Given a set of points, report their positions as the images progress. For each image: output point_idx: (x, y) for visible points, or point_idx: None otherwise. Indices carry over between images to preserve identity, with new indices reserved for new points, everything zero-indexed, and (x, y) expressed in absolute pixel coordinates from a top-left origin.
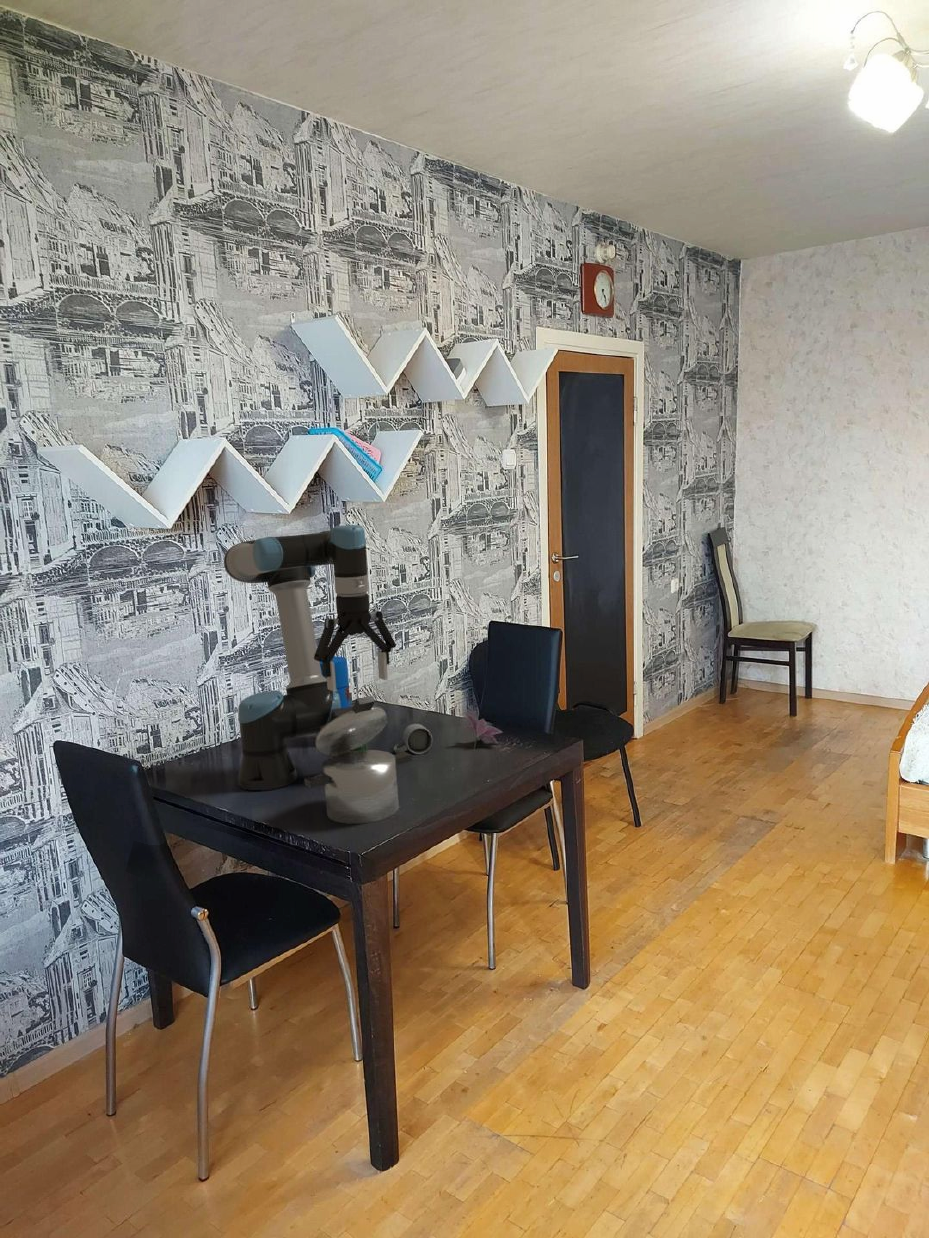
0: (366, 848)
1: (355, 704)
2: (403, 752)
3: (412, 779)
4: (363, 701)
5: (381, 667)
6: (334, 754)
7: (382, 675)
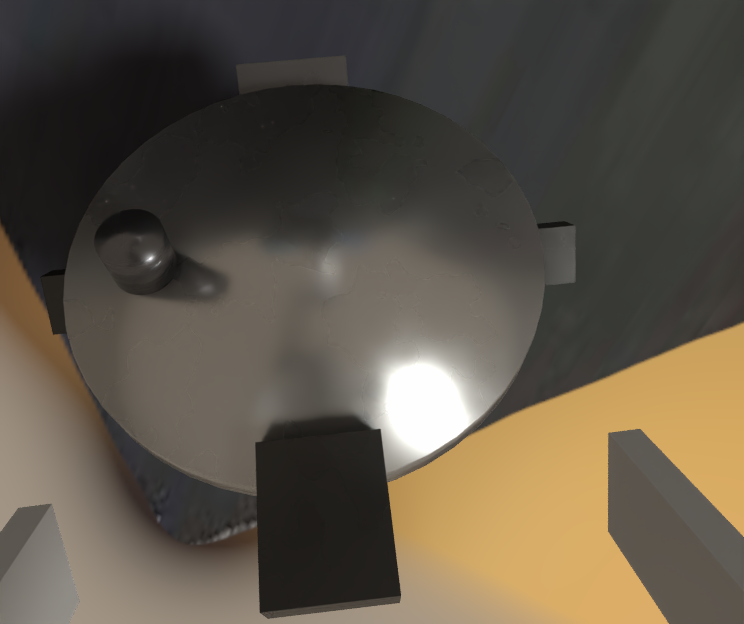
0: (207, 529)
1: (259, 548)
2: (565, 227)
3: (612, 63)
4: (304, 611)
5: (664, 565)
6: (257, 82)
7: (624, 518)
